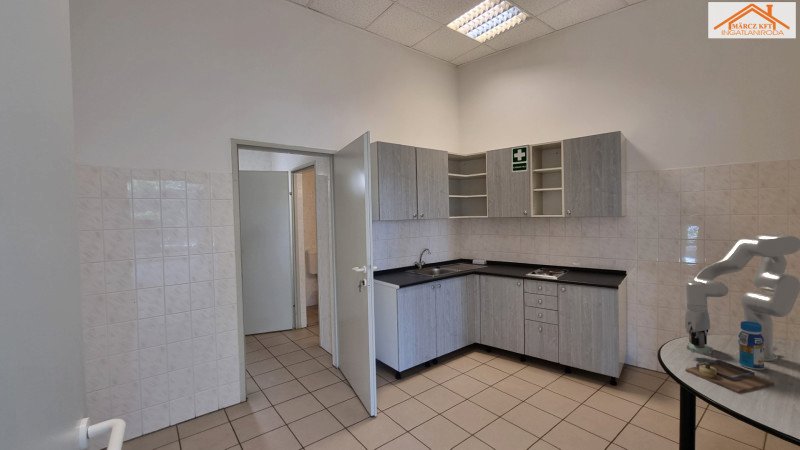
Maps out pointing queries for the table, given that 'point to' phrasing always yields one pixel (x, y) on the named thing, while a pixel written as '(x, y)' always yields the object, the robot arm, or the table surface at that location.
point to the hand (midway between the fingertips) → (699, 343)
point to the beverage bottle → (751, 346)
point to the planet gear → (700, 345)
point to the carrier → (729, 376)
